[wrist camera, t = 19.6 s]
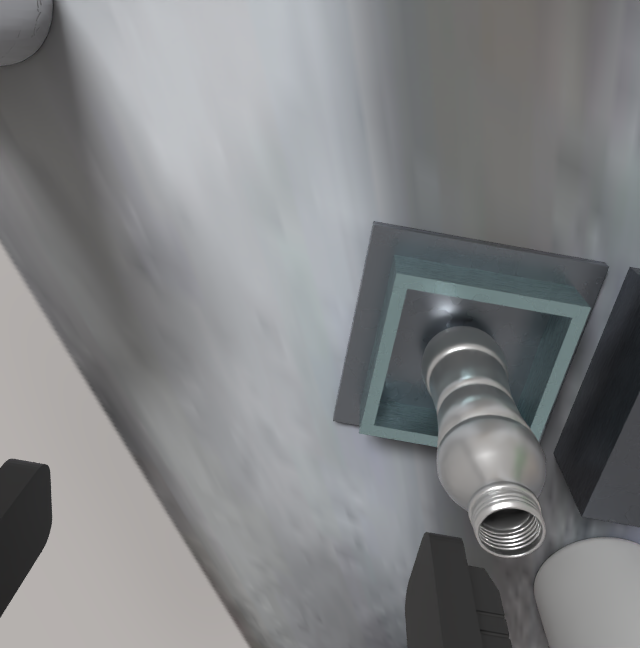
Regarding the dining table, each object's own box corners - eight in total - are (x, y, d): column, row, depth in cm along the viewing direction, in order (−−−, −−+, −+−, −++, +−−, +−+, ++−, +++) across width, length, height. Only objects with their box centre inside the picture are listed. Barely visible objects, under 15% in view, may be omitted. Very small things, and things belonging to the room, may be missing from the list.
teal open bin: (333, 414, 55) (328, 472, 47) (373, 221, 47) (374, 255, 40) (619, 464, 55) (657, 530, 48) (706, 280, 47) (768, 325, 40)
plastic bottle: (459, 401, 52) (508, 596, 34) (401, 353, 50) (420, 532, 32) (517, 351, 50) (603, 534, 32) (459, 300, 48) (514, 461, 30)
